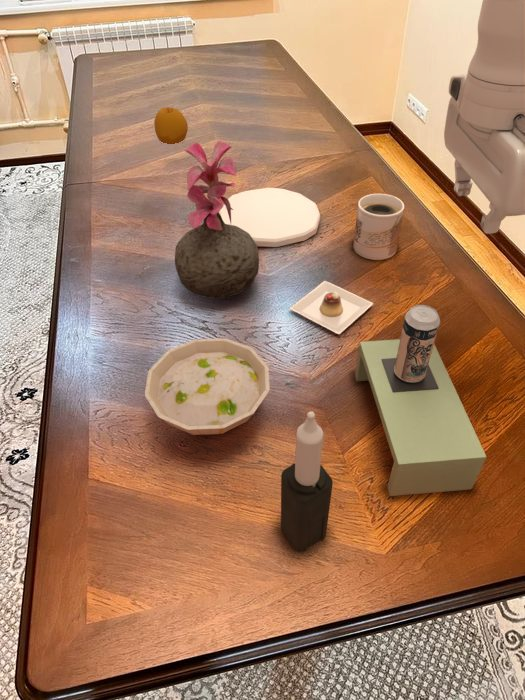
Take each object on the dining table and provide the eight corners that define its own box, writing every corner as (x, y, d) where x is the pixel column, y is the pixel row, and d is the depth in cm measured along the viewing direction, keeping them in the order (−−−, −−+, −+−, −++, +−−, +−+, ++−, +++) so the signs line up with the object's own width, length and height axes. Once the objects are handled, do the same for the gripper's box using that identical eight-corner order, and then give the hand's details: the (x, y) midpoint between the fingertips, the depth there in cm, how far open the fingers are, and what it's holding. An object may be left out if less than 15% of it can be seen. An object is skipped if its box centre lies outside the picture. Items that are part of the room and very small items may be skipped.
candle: (298, 555, 71) (305, 440, 53) (277, 525, 74) (277, 407, 57) (329, 535, 73) (345, 418, 55) (307, 507, 76) (316, 387, 58)
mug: (344, 253, 121) (348, 209, 114) (360, 227, 129) (366, 184, 121) (389, 264, 118) (397, 219, 110) (403, 237, 126) (412, 193, 118)
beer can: (405, 388, 80) (419, 328, 72) (387, 368, 84) (399, 308, 75) (431, 378, 82) (448, 318, 74) (413, 358, 85) (427, 299, 77)
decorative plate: (337, 220, 124) (233, 240, 118) (336, 236, 126) (235, 256, 121) (298, 174, 141) (206, 190, 136) (298, 189, 144) (208, 205, 138)
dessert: (288, 312, 107) (289, 293, 103) (324, 284, 113) (326, 265, 110) (338, 338, 101) (340, 319, 97) (373, 307, 107) (376, 288, 104)
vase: (181, 318, 106) (158, 174, 85) (177, 267, 118) (156, 131, 98) (265, 308, 108) (262, 164, 87) (252, 259, 120) (248, 124, 99)
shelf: (422, 370, 95) (431, 335, 89) (471, 489, 77) (487, 456, 72) (354, 375, 94) (359, 340, 88) (389, 496, 77) (398, 463, 71)
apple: (193, 141, 167) (189, 102, 159) (183, 154, 161) (178, 114, 152) (164, 139, 169) (158, 100, 161) (152, 152, 162) (146, 112, 154)
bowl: (282, 383, 93) (282, 341, 86) (256, 477, 79) (254, 436, 72) (176, 367, 96) (169, 325, 89) (134, 454, 83) (121, 413, 76)
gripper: (578, 135, 53) (534, 254, 62) (494, 69, 67) (469, 174, 77) (515, 140, 52) (480, 258, 62) (445, 73, 67) (426, 177, 77)
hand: (474, 211), depth 70 cm, fingers open, 8 cm apart
